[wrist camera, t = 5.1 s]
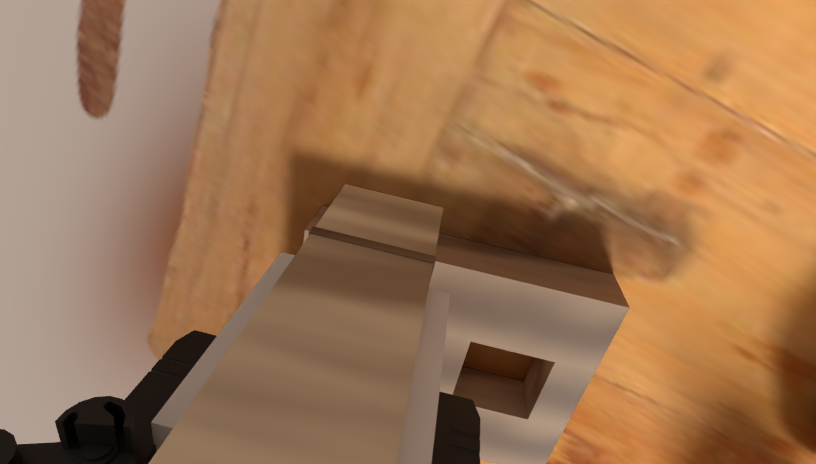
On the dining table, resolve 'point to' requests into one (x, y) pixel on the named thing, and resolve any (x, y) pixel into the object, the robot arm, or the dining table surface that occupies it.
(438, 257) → the board
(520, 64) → the dining table surface
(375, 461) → the peg
